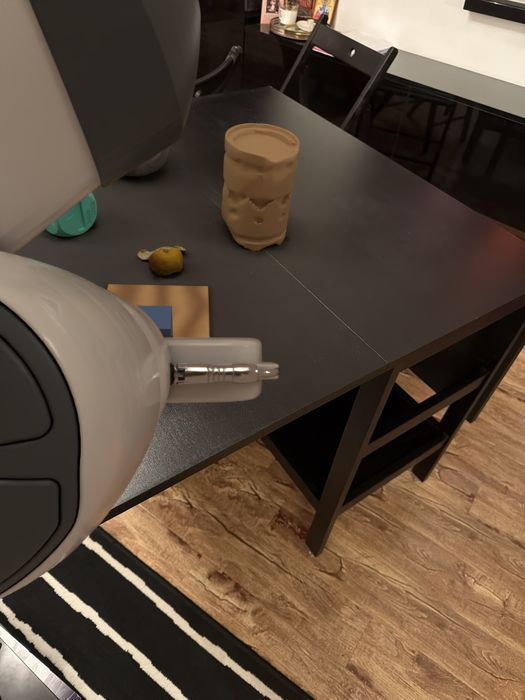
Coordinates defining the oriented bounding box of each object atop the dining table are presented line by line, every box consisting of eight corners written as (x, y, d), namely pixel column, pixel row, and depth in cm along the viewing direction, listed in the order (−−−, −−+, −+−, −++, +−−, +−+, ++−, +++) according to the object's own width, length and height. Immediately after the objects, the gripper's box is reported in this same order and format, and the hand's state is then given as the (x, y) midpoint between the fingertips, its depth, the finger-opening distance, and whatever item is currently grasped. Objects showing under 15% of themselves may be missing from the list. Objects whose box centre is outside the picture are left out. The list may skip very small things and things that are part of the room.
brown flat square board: (94, 359, 67) (94, 357, 66) (108, 285, 77) (108, 284, 77) (210, 359, 69) (210, 357, 69) (207, 287, 80) (208, 286, 79)
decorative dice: (62, 242, 84) (52, 201, 78) (36, 223, 87) (25, 182, 81) (100, 226, 88) (94, 186, 82) (74, 208, 91) (66, 168, 86)
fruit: (182, 246, 87) (181, 229, 84) (195, 274, 82) (195, 257, 79) (136, 253, 84) (134, 235, 81) (146, 282, 79) (144, 264, 76)
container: (298, 233, 94) (315, 142, 81) (256, 259, 86) (267, 163, 73) (250, 207, 98) (258, 117, 85) (206, 229, 91) (209, 134, 78)
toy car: (125, 401, 62) (114, 337, 54) (129, 364, 67) (120, 299, 58) (174, 400, 63) (172, 337, 54) (176, 364, 67) (173, 300, 59)
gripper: (287, 313, 25) (254, 320, 39) (-149, 309, 22) (-18, 318, 36) (286, 433, 25) (253, 398, 39) (-146, 445, 22) (-17, 402, 36)
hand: (121, 360), depth 37 cm, fingers closed
